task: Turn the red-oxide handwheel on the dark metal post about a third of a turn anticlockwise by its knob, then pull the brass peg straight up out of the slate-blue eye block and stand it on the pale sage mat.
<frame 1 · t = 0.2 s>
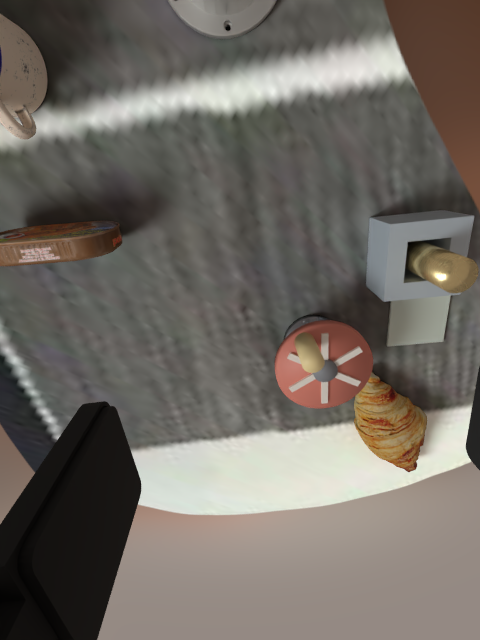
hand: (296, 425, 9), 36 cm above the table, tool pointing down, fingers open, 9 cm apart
sage mat: (417, 317, 47), on the table
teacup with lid: (17, 85, 36), on the table
eye block: (402, 249, 43), on the table
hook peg: (426, 260, 38), in the eye block
wheel post: (311, 340, 49), on the table
tin: (71, 235, 42), on the table
handwheel: (327, 377, 40), point 10 cm above the table, hinge at 0.0°
croissant: (384, 413, 55), on the table
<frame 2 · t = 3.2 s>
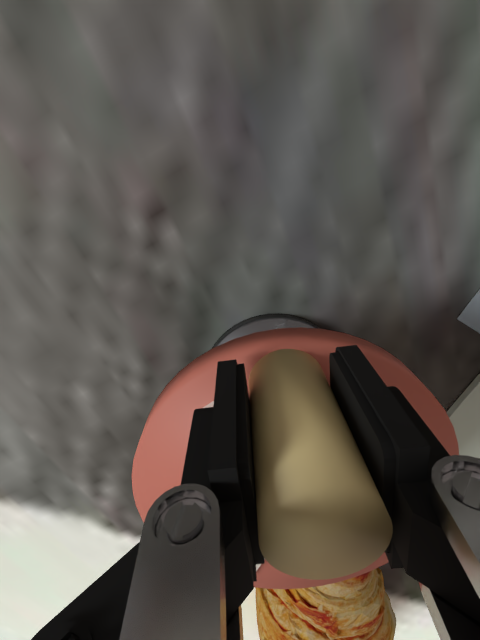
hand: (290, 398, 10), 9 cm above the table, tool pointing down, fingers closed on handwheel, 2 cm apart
wheel post: (272, 376, 20), on the table
handwheel: (303, 537, 11), point 10 cm above the table, hinge at 1.8°, touching gripper
croissant: (316, 568, 27), on the table
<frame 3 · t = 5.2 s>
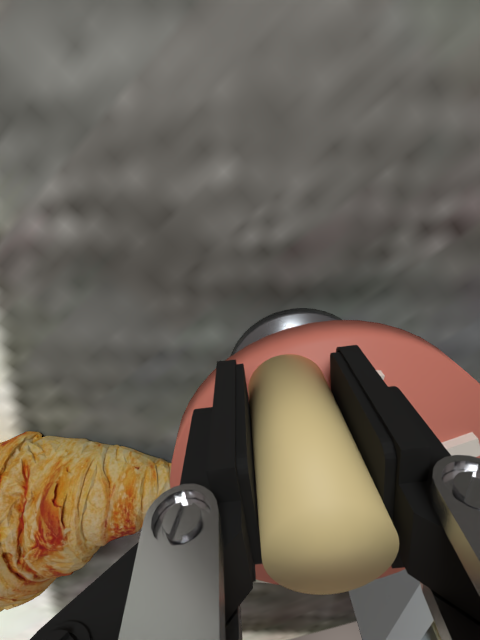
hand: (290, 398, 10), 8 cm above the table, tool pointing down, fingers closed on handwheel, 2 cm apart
eye block: (415, 530, 25), on the table
wheel post: (297, 372, 19), on the table
handwheel: (351, 534, 11), point 10 cm above the table, hinge at 94.8°, touching gripper
croissant: (42, 482, 23), on the table
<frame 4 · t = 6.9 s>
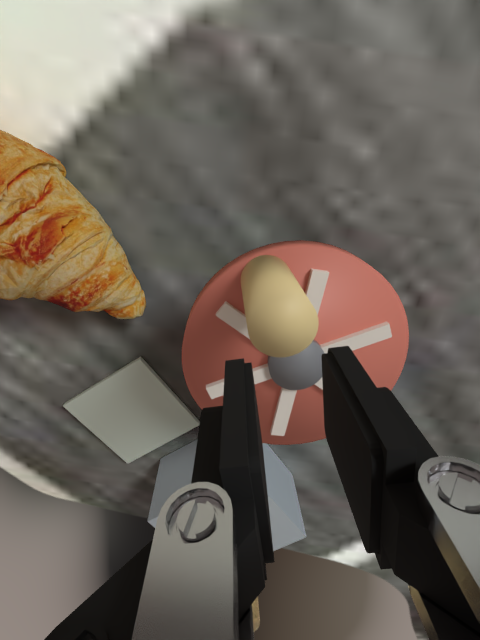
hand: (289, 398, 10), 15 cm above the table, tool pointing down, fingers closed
sage mat: (134, 412, 28), on the table
eye block: (228, 466, 32), on the table
handwheel: (302, 379, 16), point 10 cm above the table, hinge at 138.7°
croissant: (7, 211, 22), on the table
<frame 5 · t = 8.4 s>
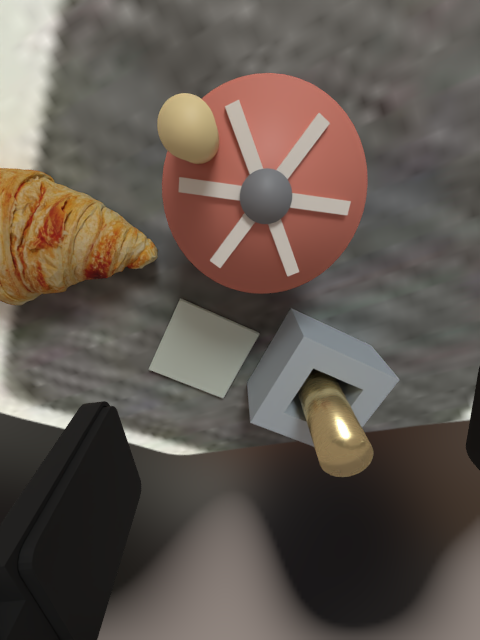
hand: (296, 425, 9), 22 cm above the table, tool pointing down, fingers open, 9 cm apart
sage mat: (203, 350, 32), on the table
eye block: (307, 364, 33), on the table
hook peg: (323, 401, 28), in the eye block
handwheel: (268, 198, 18), point 10 cm above the table, hinge at 138.7°
croissant: (35, 235, 28), on the table
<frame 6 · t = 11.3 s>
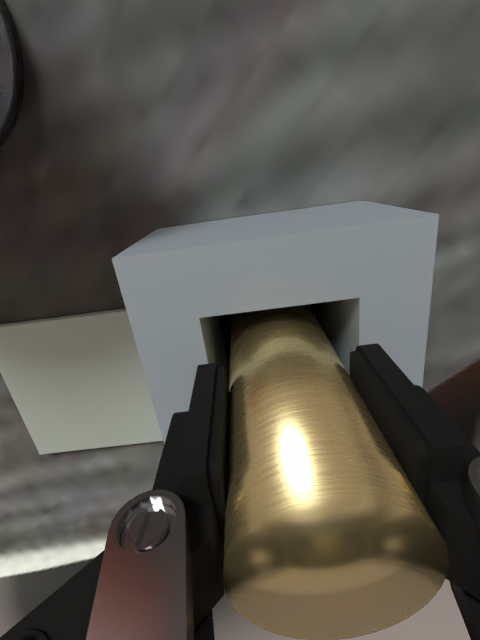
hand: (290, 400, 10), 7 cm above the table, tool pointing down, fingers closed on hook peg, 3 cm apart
sage mat: (88, 384, 18), on the table
eye block: (268, 309, 16), on the table
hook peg: (284, 376, 11), in the eye block, touching gripper
when the fingers open (9 cm above the table, at t = 16.4 s): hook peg stays where it is, resting on sage mat.
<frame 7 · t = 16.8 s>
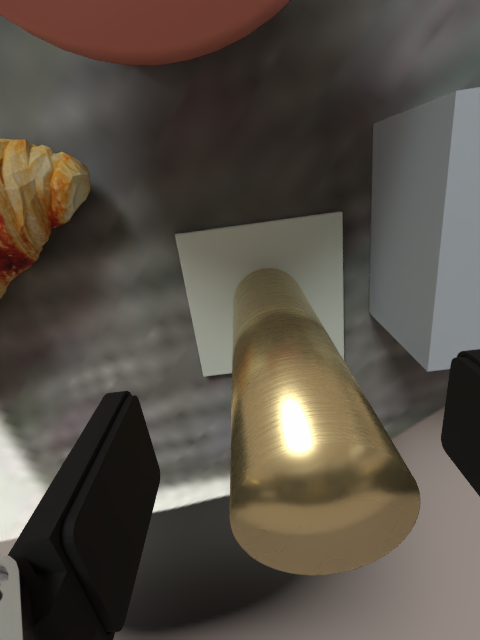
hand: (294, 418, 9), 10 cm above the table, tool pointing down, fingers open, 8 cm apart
sage mat: (265, 299, 18), on the table
eye block: (464, 215, 16), on the table
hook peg: (282, 359, 12), on the sage mat
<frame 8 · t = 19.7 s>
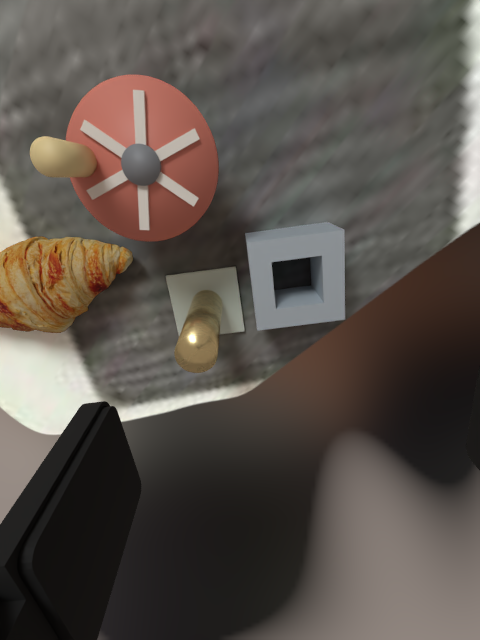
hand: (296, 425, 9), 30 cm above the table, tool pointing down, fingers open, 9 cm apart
sage mat: (206, 303, 40), on the table
eye block: (289, 267, 38), on the table
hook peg: (202, 325, 34), on the sage mat
handwheel: (136, 164, 25), point 10 cm above the table, hinge at 138.7°
croissant: (54, 281, 39), on the table
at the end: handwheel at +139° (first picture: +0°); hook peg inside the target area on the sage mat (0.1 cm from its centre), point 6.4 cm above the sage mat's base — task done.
